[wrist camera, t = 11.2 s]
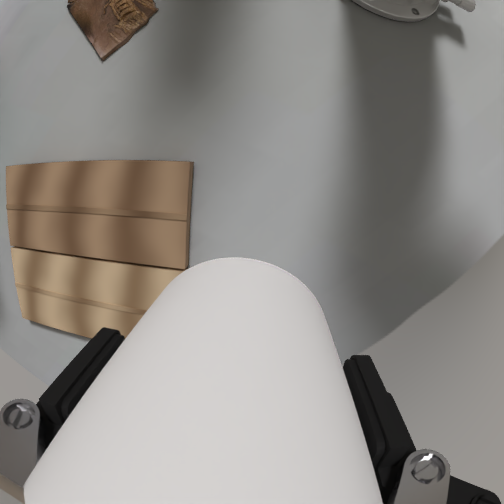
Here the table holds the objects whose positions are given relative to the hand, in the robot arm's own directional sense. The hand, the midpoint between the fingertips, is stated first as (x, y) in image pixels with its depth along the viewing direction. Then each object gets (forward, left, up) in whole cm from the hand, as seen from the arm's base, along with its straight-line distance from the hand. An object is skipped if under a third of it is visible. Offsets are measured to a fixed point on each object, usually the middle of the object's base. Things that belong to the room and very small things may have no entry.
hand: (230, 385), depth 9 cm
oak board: (+17, +7, -18) cm, 25 cm away
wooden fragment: (+19, -30, -18) cm, 40 cm away
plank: (+17, -2, -17) cm, 24 cm away
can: (0, 0, -3) cm, 3 cm away
